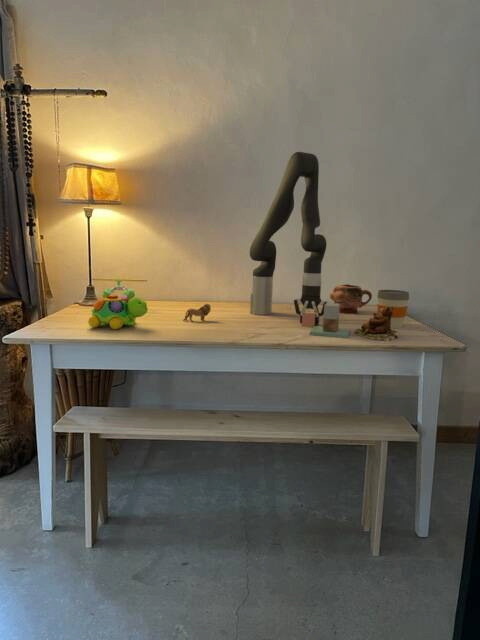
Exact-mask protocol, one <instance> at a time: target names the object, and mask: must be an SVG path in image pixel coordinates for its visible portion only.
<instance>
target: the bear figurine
mask: <svg viewBox="0 0 480 640" xmlns="http://www.w3.org/2000/svg"><path fill="white" fill-rule="evenodd" d="M393 308H394V307H393V306H392V307H391V308H390V307H386V308H381V309H380V310H379V312H378V311H377V312H376V311H373V313H372V314H373V317H370V318H369V320H368V321H365V322H364V323H363V324H362V325H361V327H360V328H357V329H356V330H355V331H354V332H353V333H354V334H355V335H357V336H360V337H361V338H367V339H373V340H378V341H380V340H383V341H385V342H390V340H391V341H392V340H394V339H395V338H399V333H398V330H395V329H393V328H390V325H391V322H390V320H391V316H392V315H393Z"/></svg>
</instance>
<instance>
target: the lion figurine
mask: <svg viewBox="0 0 480 640" xmlns="http://www.w3.org/2000/svg"><path fill="white" fill-rule="evenodd" d="M210 313H211V304H209V303H205V304H203V306H201V307H199V308H198V309H197V308H191V307H190V308H189V309H187V310H186V312H185V317H184V319H183V320H182V321H183V322H188V321H190V322H192V323H193V322H194V320H192V318H193V316H195V317H200V321H201V320H202V322H203V321H205V319H206V318H205V317H207V316H209V314H210ZM188 318H189V319H188Z"/></svg>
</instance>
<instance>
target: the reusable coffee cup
mask: <svg viewBox="0 0 480 640" xmlns="http://www.w3.org/2000/svg"><path fill="white" fill-rule="evenodd" d="M376 297H377V312H379V310H380V309H381V308H386V307H390V308H391V307H392V306H393V307H394V308H393V315H392V316H391V320H390V322H391V325H390V329H400V328H402V327H403V323H404V321H405V317H406V315H407V310H408V301H410V292H409V291H405V290H399V289H379V290H378V292H377V296H376Z"/></svg>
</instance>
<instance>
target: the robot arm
mask: <svg viewBox="0 0 480 640" xmlns="http://www.w3.org/2000/svg"><path fill="white" fill-rule="evenodd" d="M319 165H320V164H319V160H318V156H316V155H315V154H314V153H310V152H303V151H296V152H294V153H293V154H292V155H291V156H290V158H289V159H288V161H287V163H286V168H285V171H284V173H283V177H282V179H281V181H280V185H279V187H278V189H277V191H276V195H275V197H274V199H273V200H272V202H271V205H270V207H269V209H268V212H267V214H266V217H265V219H264V221H263V223H262V224H261V227H260V228H259V231H258V232H257V234H256V236H255V237H254V239H253V241H252V242H251V245H250V248H249V257H250V259H251V260H252V261H255V262H260V265H259V266H257V267H256V268H254V269H253V270H252V287H251V290H252V291H251V292H250V306H249V307H250V309H249V313H250V314H253V315H259V316H269V315H272V312H273V311H272V310H273V309H272V308H273V307H272V306H273V287H274V286H273V285H274V284H273V283H274V274H275V270H276V262H277V261H276V259H277V246H276V244H275V242H274V241H272V240H271V238H272V237H273V236H274V235H275V234H276V233H277V232H278V231H279V230H280V229H282V228H283V227H284V226H285V225H286V224H287V223H288V221H289V219H290V217H291V215H292V214H293V211H294V208H295V198H294V197H295V196H294V194H295V193H294V192H295V187H296V185H297V182H298V181H299V179H300V177H301V178H302V177H303V178H304V182H305V192H304V195H303V198H302V202H301V206H300V212H301V213H300V214H301V221H302V228H301V235H300V237H301V238H300V245H301V247H302V249H303V251H305V252H308V253H310V256H309V257H307V258H305V259H304V262H303V272H302V273H303V274H302V283H301V297H300V298H299V299H297V298H296V299H294V300H293V304H294V310H295V314H296V315H299V316H300V317H299V323H300V325H301V326H302V315H303V314H304V313H305V312H306V311H307V310H309V309H310V310H313V313H315V315H316V317H315V326H319V323H320V317H324V305H325V304H326V303H329V302H328V301H327V300H326V301H325V300H322V299H321V294H322V293H321V292H322V289H321V288H322V263H323V260H324V257H325V253H326V251H327V250H326V249H327V245H328V244H327V240H326V237H325V236H324V235H322V234H319V233H317V234H316V229H318V228H319V227H320V226H321V218H320V217H321V216H320V209H319V176H320V174H319V173H320V172H319V171H320V169H319V168H320V167H319ZM300 303H301V304H302V306H303V307H302V308H301V310H300V306H299V305H300ZM320 304H321V307H322V308H321V311H320V312H319V307H318V306H319V305H320Z"/></svg>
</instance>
